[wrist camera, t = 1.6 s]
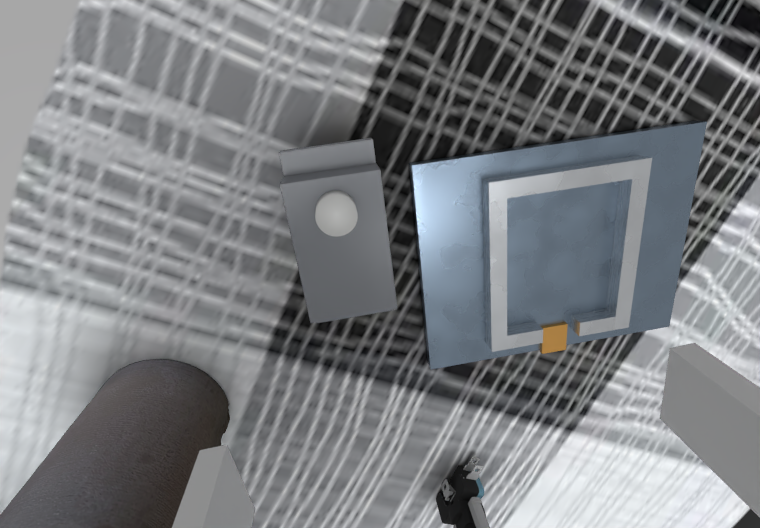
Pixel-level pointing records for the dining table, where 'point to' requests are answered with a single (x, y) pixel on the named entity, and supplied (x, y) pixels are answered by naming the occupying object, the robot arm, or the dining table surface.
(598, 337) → the plate
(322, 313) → the servo
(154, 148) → the dining table surface
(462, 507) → the push button
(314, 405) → the dining table surface
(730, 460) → the robot arm
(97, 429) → the pillar candle
